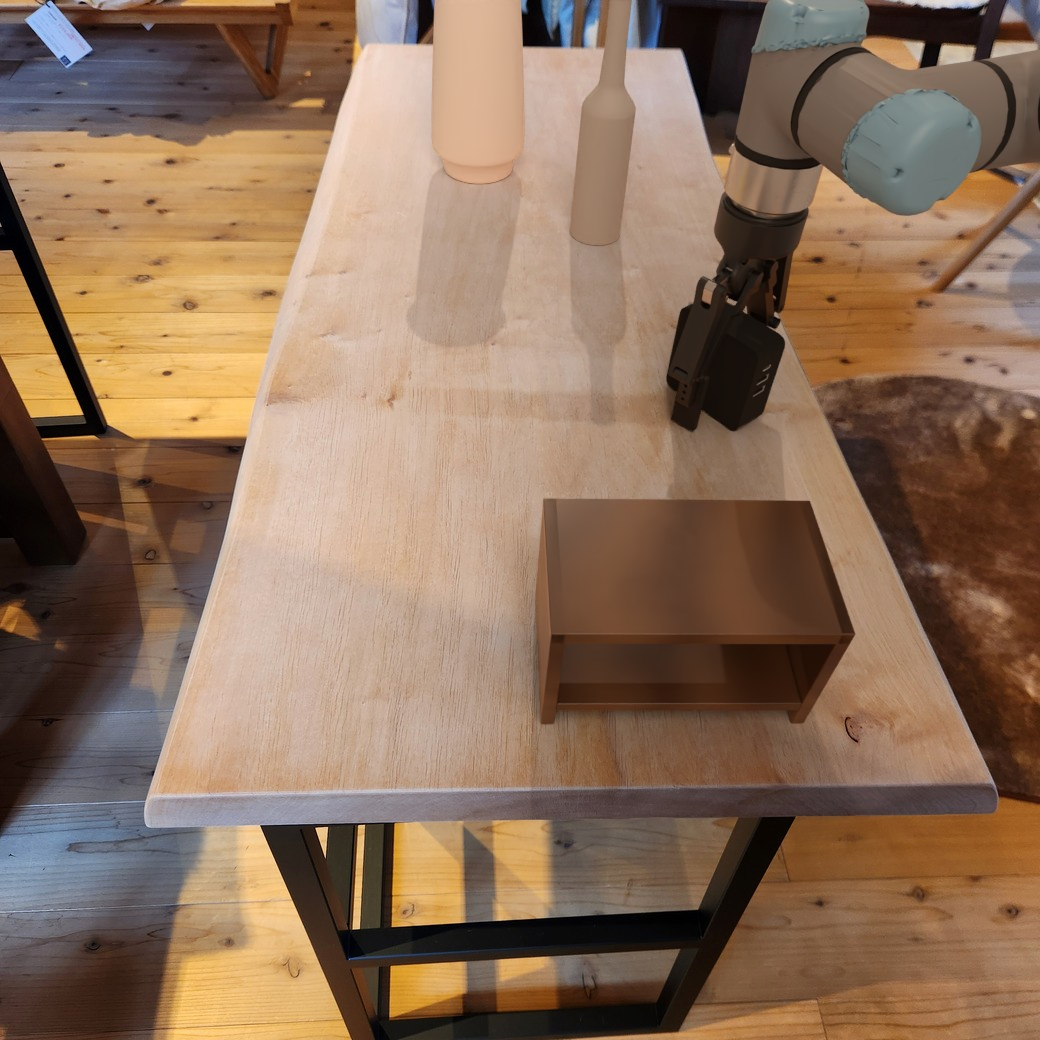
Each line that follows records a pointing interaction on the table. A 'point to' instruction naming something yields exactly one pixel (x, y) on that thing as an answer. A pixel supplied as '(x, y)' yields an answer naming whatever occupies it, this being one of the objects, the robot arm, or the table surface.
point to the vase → (478, 88)
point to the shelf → (685, 606)
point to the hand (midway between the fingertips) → (712, 398)
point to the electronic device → (738, 370)
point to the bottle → (605, 141)
